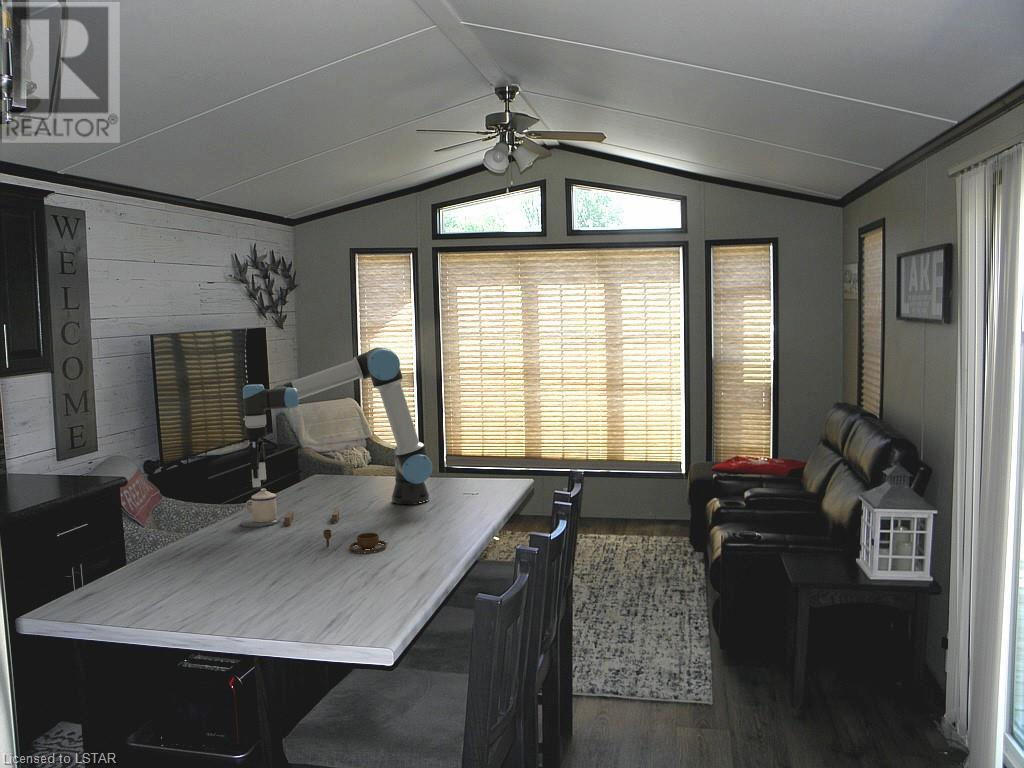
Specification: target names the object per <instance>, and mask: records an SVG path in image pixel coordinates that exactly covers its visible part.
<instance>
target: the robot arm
mask: <svg viewBox="0 0 1024 768" xmlns="http://www.w3.org/2000/svg"><path fill="white" fill-rule="evenodd" d="M400 363H401V362H400V359H399V357H398V355H397V353H396V352H394V351H393V350H392V349H390V348H386V347H375V348H372V349H370V350H368V351H365V352H364V353H362V354H359V355H357V356H354V357H353V358H352V360H349V361H346V362H344V363H340V364H339V365H338V364H337V365H335V366H332V367H329V368H326V369H322V370H321V371H317V372H315V373H312V374H309V375H306V376H304V377H300V378H298V379H294V380H291V381H290V382H286V383H283V384H277V385H276V386H274V387H273V388H269V389H266V388H265V387H264V385H263V384H259V383H258V384H246V385H244V386H243V387H242V400H243V401H242V403H243V413H244V414H243V415H244V418H242V420H243V421H244V426H245V428H244V429H245V430H244V431H245V437H246V439H251V441H250V467H249V468H248V470H249V471H251V478H252V479H251V480H252V481H251V482H252V488H260V487H261V485H262V484H261V481H262V480H267V469H266V462H268V459H267V456H266V452H265V445H264V437H267V436H268V431H267V426H266V425H267V414H266V413H267V412H266V411H267V410H279V409H280V410H281V409H293V408H297V407H299V400H300V399H304V398H307V397H310V396H313V395H315V394H318V393H321V392H323V391H326V390H329V389H333V388H335V387H338V386H341V385H344V384H346V383H349V382H353V381H356V380H359V379H360V380H363V381H364V380H366V379H369V378H370V380H371V382H372V383H371V384H372V386H373V388H374V389H376V390H378V391H379V395H380V397H381V400H382V403H383V407H384V409H385V414H386V416H387V419H388V422H389V425H390V428H391V431H392V435H393V438H394V441H395V444H396V446H395V447H394V451H393V455H394V473H395V474H394V476H395V484H394V488H393V490H392V494H391V503H392V502H393V503H392V504H394V503H396V504H395V505H400V504H414V503H419V502H423V501H426V500H428V499H429V500H430V493H429V491H428V489H427V485H426V481H427V480H428V479H429V478H430V477H431V475H432V473H433V463H432V460H431V459H430V458H429V455H428V453H427V450H426V446H425V444H424V443H423V442H421V441H419V438H418V435H417V431H416V428H415V425H414V422H413V418H412V415H411V413H410V409H409V406H408V403H407V400H406V397H405V394H404V389H403V387H402V381H403V379H404V378H403V377H404V376H403V374H402V371H401V364H400ZM414 505H415V504H414Z"/></svg>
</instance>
